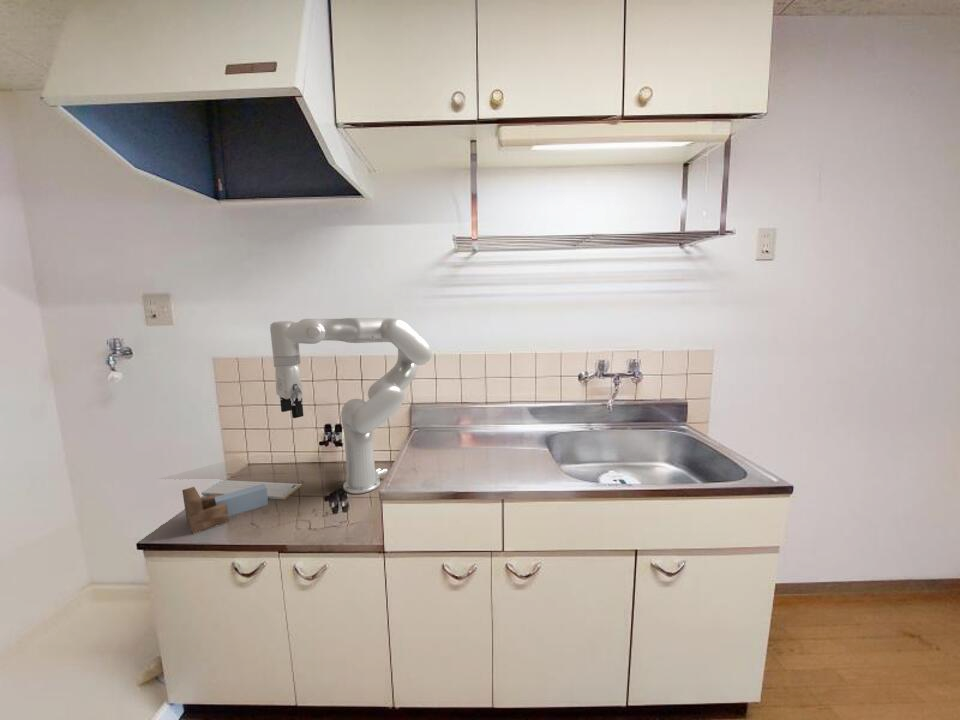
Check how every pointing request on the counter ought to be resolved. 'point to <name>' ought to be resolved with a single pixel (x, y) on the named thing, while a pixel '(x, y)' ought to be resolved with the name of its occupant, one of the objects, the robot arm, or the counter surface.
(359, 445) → the robot arm
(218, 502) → the slate slat
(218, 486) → the baseboard molding
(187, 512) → the walnut end cap
